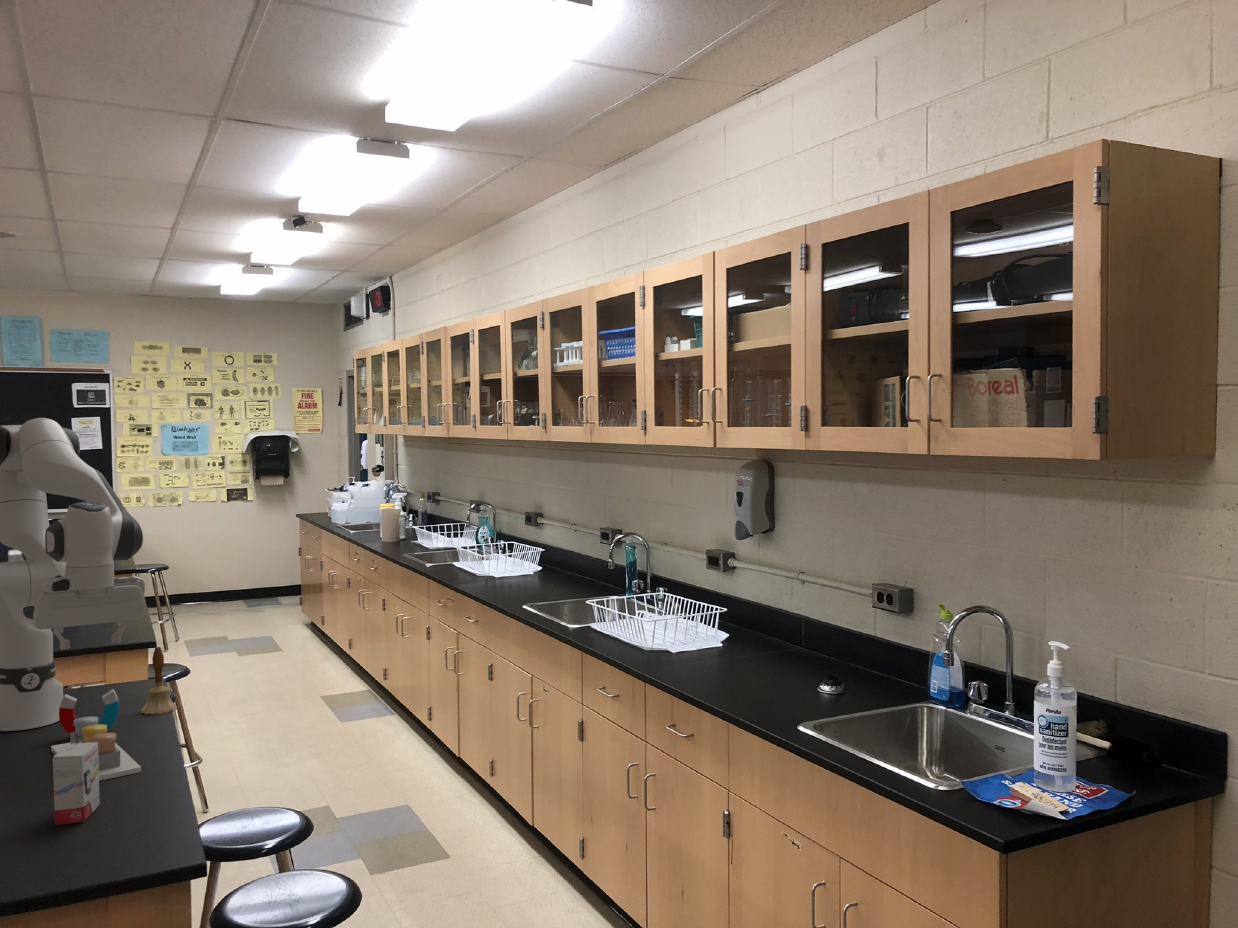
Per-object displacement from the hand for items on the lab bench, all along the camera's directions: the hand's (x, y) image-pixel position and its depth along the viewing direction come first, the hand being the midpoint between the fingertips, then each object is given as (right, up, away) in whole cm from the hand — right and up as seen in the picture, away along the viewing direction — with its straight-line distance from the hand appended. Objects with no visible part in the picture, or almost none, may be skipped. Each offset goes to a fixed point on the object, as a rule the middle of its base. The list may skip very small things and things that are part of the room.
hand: (91, 645), depth 189 cm
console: (+1, -24, 0) cm, 24 cm away
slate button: (-5, -22, +6) cm, 23 cm away
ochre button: (+1, -22, 0) cm, 22 cm away
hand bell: (-6, -24, +39) cm, 46 cm away
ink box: (+15, -24, -29) cm, 41 cm away
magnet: (-10, -24, +17) cm, 31 cm away
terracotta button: (+6, -22, -6) cm, 23 cm away
